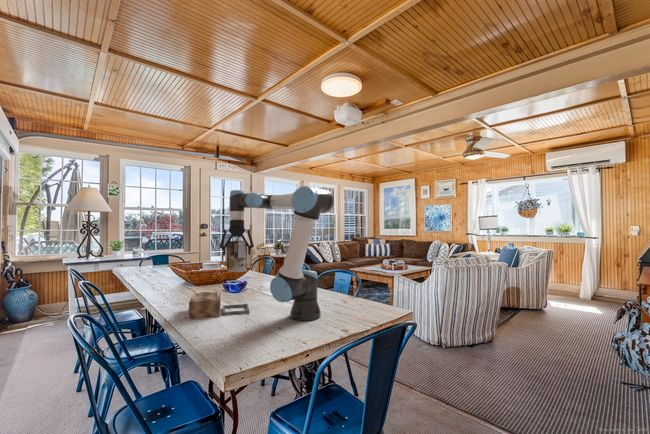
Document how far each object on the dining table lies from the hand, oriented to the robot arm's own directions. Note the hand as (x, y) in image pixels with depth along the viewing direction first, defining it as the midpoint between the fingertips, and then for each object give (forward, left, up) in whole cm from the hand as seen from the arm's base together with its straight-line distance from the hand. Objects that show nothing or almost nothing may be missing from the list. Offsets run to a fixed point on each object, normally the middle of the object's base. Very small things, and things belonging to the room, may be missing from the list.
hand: (236, 261), depth 166 cm
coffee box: (0, 0, -6) cm, 6 cm away
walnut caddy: (+7, 0, -26) cm, 27 cm away
